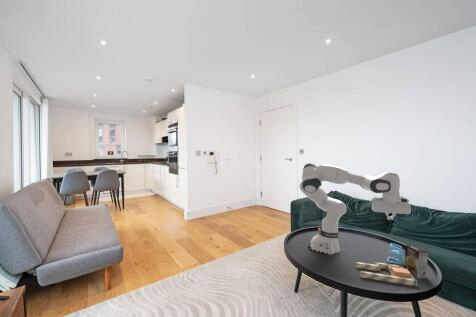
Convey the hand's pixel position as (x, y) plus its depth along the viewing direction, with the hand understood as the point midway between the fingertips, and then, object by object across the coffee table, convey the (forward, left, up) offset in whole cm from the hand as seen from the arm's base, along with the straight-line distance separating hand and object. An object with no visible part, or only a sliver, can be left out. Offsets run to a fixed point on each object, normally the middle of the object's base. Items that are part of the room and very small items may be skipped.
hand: (390, 219), depth 132 cm
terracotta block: (+2, -11, -31) cm, 33 cm away
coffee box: (+13, -3, -31) cm, 34 cm away
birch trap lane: (-6, -9, -31) cm, 33 cm away
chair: (+7, +9, -31) cm, 33 cm away
